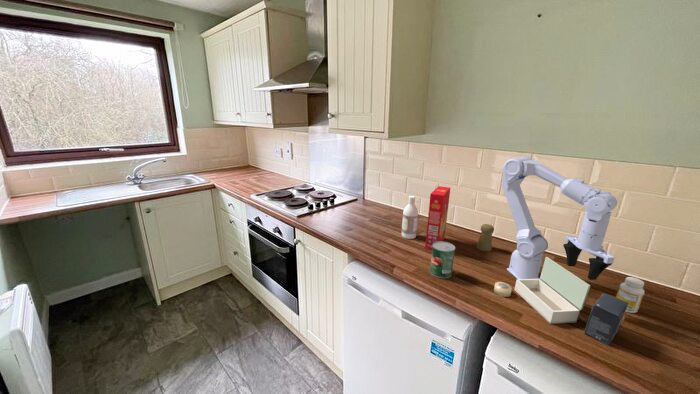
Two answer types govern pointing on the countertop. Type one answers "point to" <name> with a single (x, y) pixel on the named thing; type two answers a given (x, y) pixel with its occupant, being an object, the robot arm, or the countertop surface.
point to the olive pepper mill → (485, 238)
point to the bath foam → (410, 219)
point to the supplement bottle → (631, 293)
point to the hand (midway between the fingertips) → (580, 272)
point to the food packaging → (437, 216)
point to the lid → (565, 283)
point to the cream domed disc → (502, 289)
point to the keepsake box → (546, 301)
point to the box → (605, 318)
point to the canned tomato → (442, 259)
